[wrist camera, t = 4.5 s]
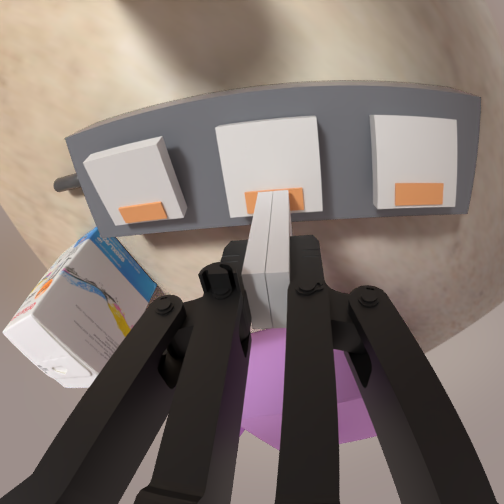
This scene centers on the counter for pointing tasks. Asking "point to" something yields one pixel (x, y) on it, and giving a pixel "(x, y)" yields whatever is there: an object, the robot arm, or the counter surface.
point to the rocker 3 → (413, 161)
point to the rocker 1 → (137, 182)
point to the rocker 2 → (271, 162)
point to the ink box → (81, 310)
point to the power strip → (270, 107)
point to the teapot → (272, 386)
